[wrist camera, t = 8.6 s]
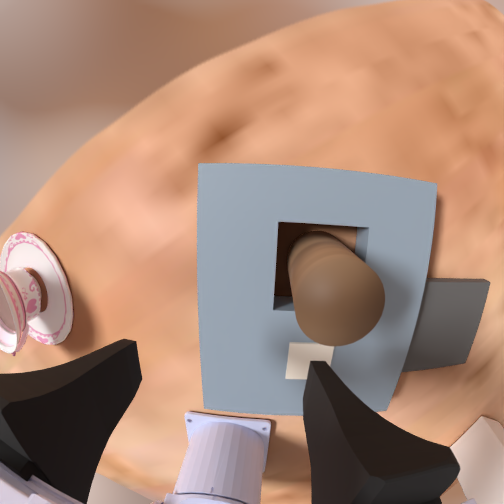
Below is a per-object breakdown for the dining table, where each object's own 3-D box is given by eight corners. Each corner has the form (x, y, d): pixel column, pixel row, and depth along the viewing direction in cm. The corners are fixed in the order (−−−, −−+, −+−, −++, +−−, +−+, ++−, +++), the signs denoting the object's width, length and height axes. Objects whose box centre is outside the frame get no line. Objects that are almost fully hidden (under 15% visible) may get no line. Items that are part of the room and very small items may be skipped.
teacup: (-4, 233, 21) (-44, 244, 15) (63, 228, 20) (13, 241, 14) (17, 333, 24) (-15, 355, 18) (87, 351, 23) (52, 385, 17)
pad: (460, 358, 20) (465, 363, 19) (392, 366, 21) (396, 372, 20) (483, 278, 18) (490, 282, 17) (414, 277, 19) (420, 281, 18)
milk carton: (498, 420, 22) (550, 501, 4) (465, 454, 24) (505, 538, 5) (481, 414, 22) (541, 510, 3) (443, 451, 23) (486, 550, 5)
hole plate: (378, 392, 21) (387, 411, 19) (210, 389, 22) (203, 410, 20) (419, 183, 17) (438, 183, 15) (208, 166, 18) (197, 162, 16)
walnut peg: (341, 287, 20) (376, 344, 12) (285, 286, 20) (291, 346, 12) (345, 231, 19) (391, 260, 11) (287, 229, 19) (297, 258, 11)
